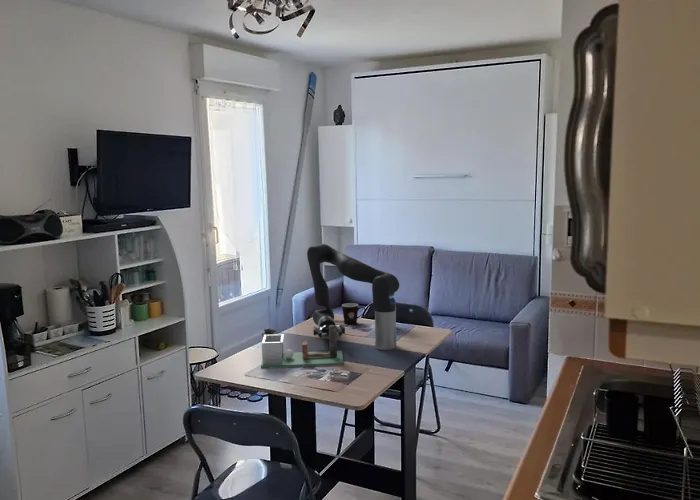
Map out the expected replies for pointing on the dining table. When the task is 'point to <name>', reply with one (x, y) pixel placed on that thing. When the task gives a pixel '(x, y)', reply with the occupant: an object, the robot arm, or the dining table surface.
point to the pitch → (307, 361)
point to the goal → (272, 349)
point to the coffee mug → (351, 313)
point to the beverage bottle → (394, 303)
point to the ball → (288, 354)
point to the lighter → (269, 332)
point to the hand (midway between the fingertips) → (330, 334)
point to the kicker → (331, 345)
